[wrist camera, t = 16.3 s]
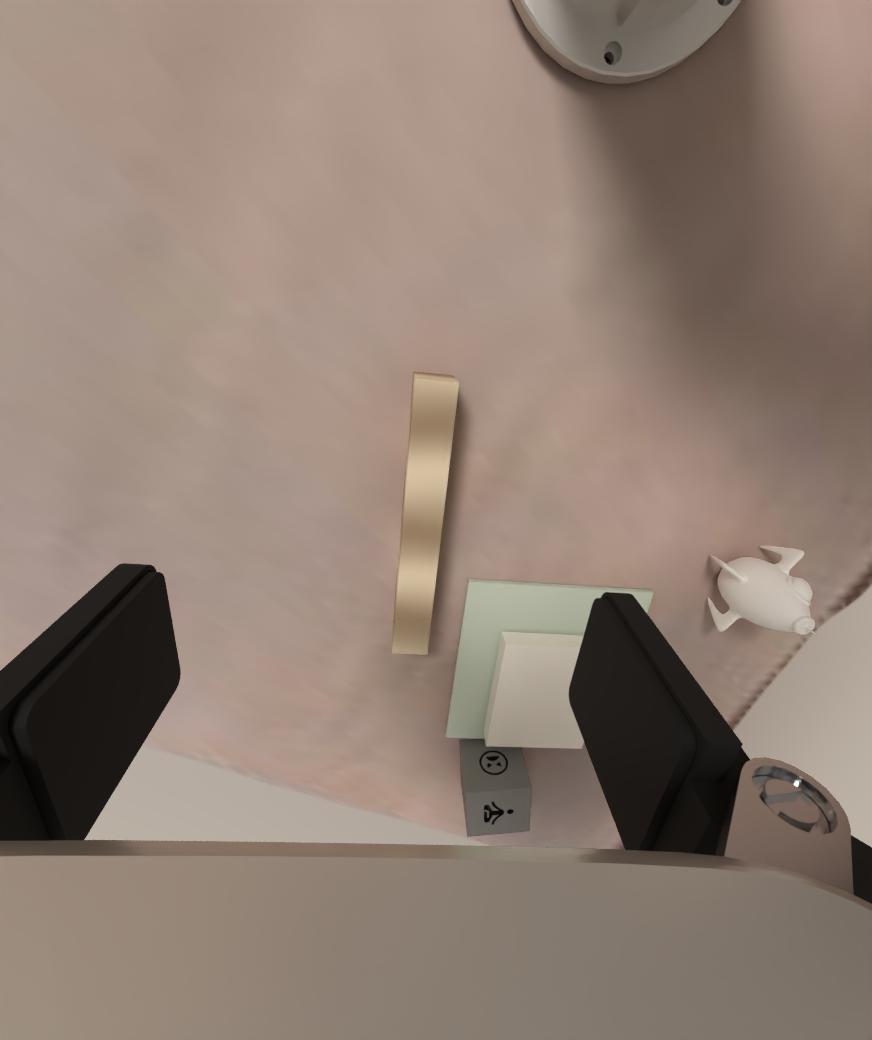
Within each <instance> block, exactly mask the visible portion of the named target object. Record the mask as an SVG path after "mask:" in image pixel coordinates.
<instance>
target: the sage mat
mask: <svg viewBox="0 0 872 1040" xmlns="http://www.w3.org/2000/svg"><path fill="white" fill-rule="evenodd" d="M605 592H614V593H629V594H632V595H633V596H634V597H635V598H636V600H637V601H638V602H639V604H640V605H641V606H642V608H643V609H644V610H645V612H646V613H647V612H648V609H649V606H650V603H651V600H652V596H653V591H652V590H643V589H627V588H610V587H594V586H577V585H561V584H544V583H528V582H512V581H495V580H479V579H468V584H467V591H466V597H465V604H464V611H463V618H462V625H461V631H460V638H459V645H458V652H457V659H456V666H455V672H454V679H453V686H452V693H451V700H450V707H449V713H448V720H447V727H446V738H477V739H484V733H483V729H484V724H485V719H486V713H487V708H488V703H489V697H490V692H491V686H492V681H493V676H494V670H495V665H496V659H497V654H498V649H499V643H500V638H501V633H502V632H522V633H542V634H561V635H581V636H584V633H585V629H586V626H587V622H588V618H589V615H590V611H591V608H592V604H593V602H594V600H595V599H596V598H601V596H602V595H603V593H605Z"/></svg>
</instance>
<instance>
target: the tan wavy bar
mask: <svg viewBox="0 0 872 1040" xmlns="http://www.w3.org/2000/svg"><path fill="white" fill-rule="evenodd" d="M458 389H459V382H458V381H457V380H456V379H455V378H454V376H451V375H441V374H432V373H422V372H414V373H413V385H412V397H411V409H410V422H409V434H408V446H407V458H406V470H405V482H404V495H403V507H402V519H401V531H400V543H399V555H398V568H397V580H396V592H395V604H394V616H393V637H392V653H400V654H422V655H427V652H428V643H429V635H430V626H431V618H432V609H433V601H434V592H435V584H436V575H437V567H438V559H439V550H440V542H441V533H442V525H443V516H444V508H445V499H446V491H447V482H448V474H449V465H450V457H451V448H452V440H453V431H454V423H455V414H456V406H457V397H458Z"/></svg>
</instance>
